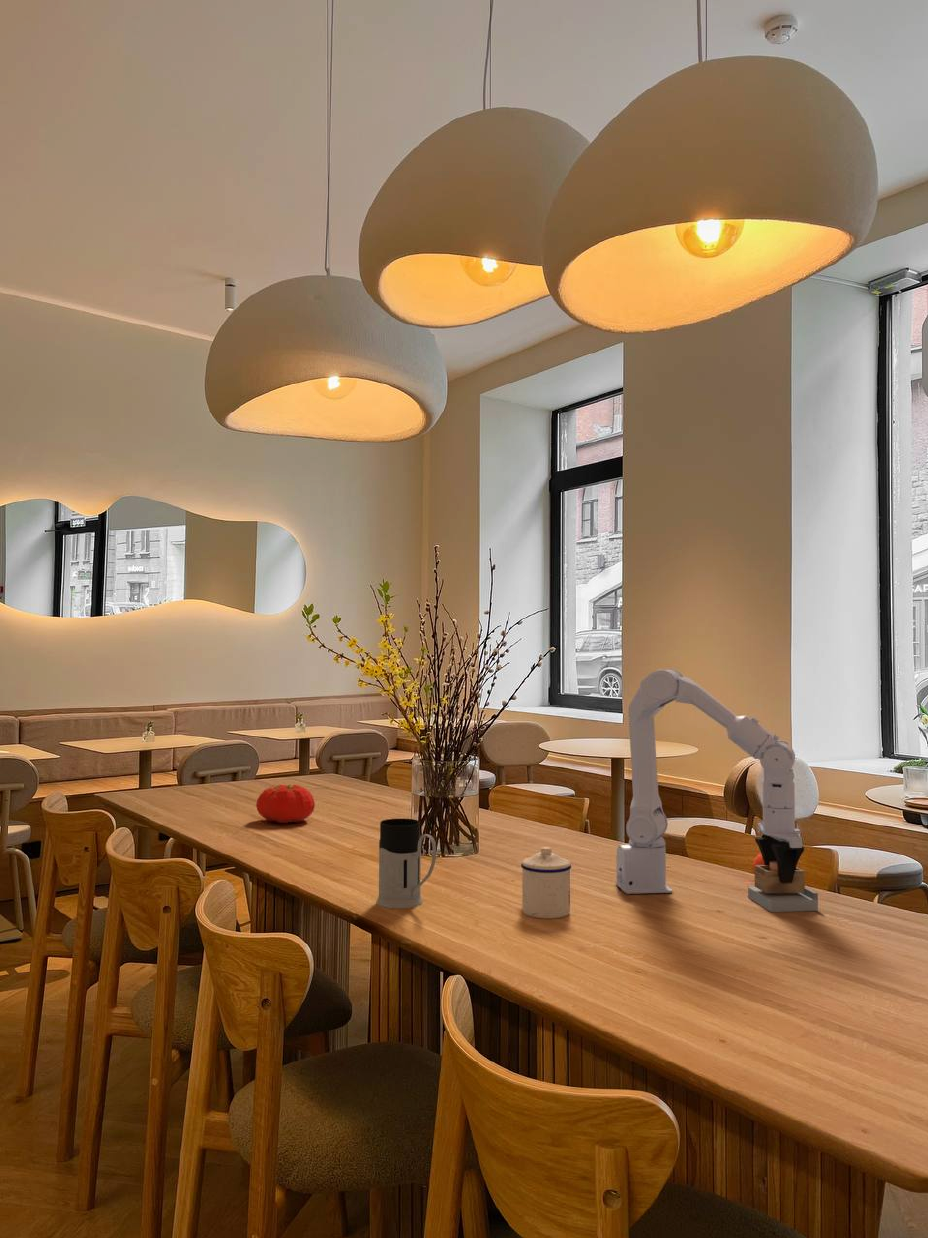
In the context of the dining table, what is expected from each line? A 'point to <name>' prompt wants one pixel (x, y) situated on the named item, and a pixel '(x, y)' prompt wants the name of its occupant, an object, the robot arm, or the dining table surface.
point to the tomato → (285, 803)
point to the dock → (785, 900)
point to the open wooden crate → (778, 881)
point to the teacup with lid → (546, 885)
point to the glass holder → (401, 863)
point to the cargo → (773, 866)
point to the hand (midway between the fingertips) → (779, 878)
